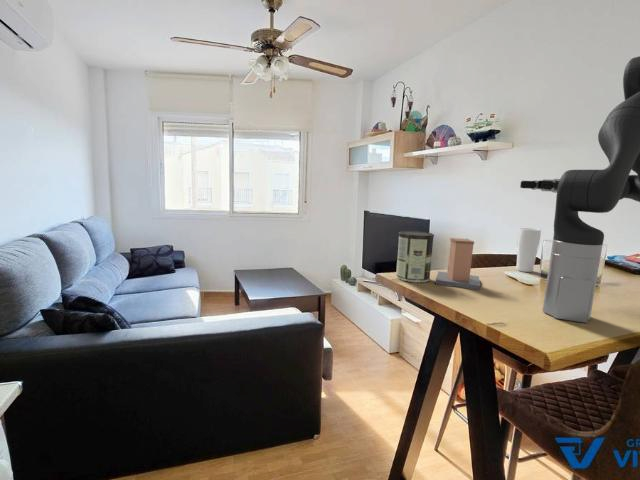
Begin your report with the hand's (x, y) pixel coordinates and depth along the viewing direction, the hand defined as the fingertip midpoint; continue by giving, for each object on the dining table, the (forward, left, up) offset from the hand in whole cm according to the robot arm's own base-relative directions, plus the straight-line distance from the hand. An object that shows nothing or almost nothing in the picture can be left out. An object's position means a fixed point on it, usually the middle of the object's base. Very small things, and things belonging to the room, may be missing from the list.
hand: (528, 184), depth 104 cm
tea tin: (-5, +16, -29) cm, 33 cm away
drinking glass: (+25, -6, -30) cm, 39 cm away
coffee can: (-8, +29, -30) cm, 43 cm away
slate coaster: (-5, +16, -30) cm, 35 cm away
